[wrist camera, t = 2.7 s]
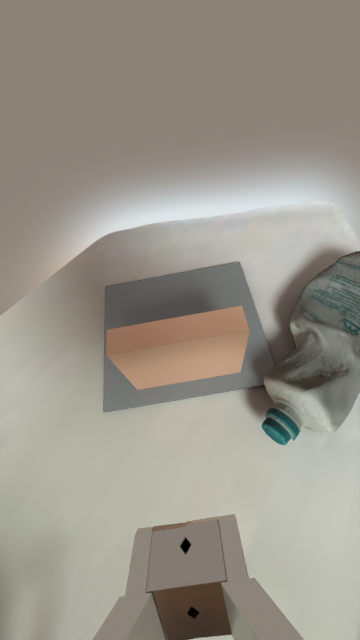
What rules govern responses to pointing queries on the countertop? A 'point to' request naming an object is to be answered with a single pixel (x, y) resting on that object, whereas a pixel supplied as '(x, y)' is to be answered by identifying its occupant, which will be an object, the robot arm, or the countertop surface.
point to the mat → (175, 301)
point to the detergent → (319, 356)
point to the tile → (180, 348)
